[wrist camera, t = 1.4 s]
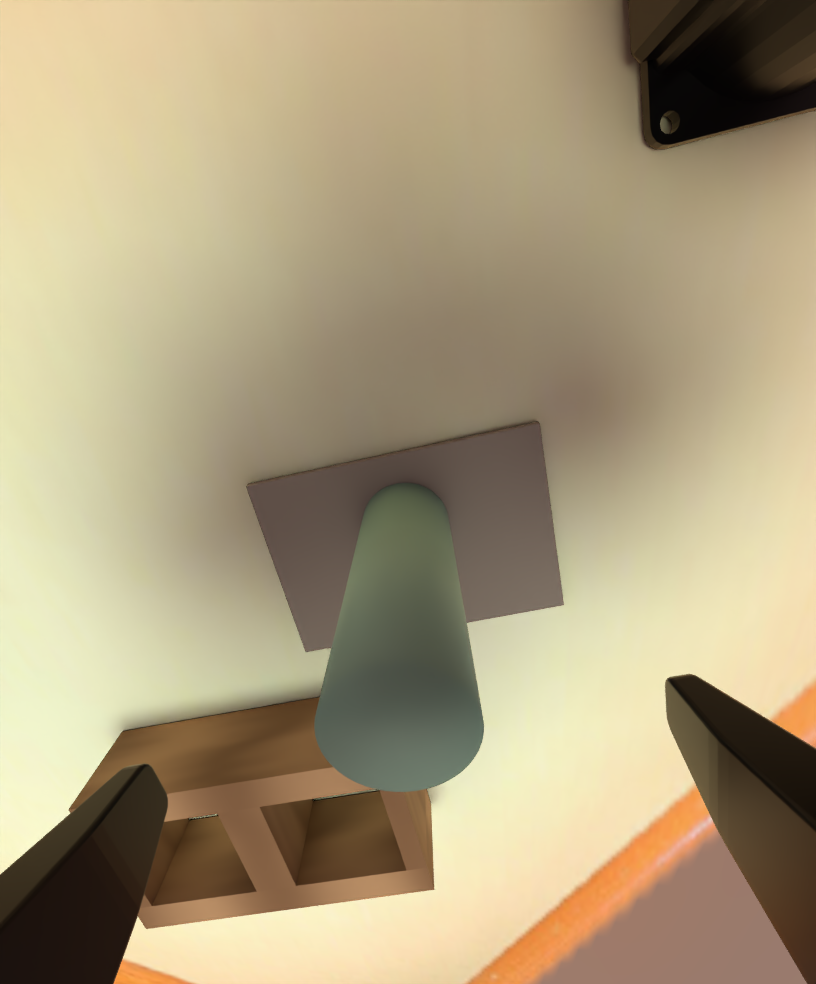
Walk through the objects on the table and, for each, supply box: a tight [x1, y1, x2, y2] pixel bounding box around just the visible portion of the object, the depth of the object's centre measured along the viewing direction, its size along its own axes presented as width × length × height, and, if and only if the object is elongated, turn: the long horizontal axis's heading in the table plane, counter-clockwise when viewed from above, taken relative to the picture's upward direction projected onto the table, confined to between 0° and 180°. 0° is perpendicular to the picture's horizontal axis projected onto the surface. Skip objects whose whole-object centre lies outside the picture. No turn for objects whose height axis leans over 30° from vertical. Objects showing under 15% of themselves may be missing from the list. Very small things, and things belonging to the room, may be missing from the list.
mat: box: [246, 422, 564, 652], centre depth 18 cm, size 10×7×1 cm
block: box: [69, 697, 434, 929], centre depth 20 cm, size 12×7×4 cm, turn 103°
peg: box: [314, 483, 484, 792], centre depth 13 cm, size 3×3×9 cm
